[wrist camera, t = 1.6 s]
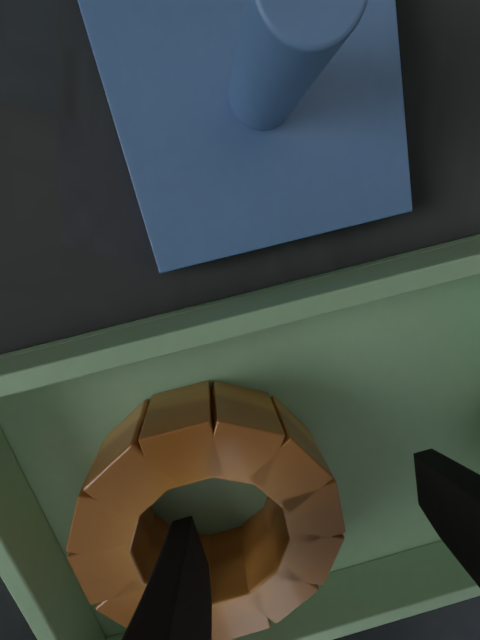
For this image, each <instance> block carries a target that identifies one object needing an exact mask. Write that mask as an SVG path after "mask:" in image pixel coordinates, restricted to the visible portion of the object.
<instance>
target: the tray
mask: <svg viewBox="0 0 480 640" xmlns="http://www.w3.org/2000/svg"><path fill="white" fill-rule="evenodd" d="M204 381H209V384H210V387H211V389H212V386H213V382H214V381H219V382H224V383H228V384H232V385H237V386H241V387H246V388H250V389H254V390H259V391H263V392H267V393H268V394H269V396H270V398H271V397H272V396H275V397H276V398H277V399H278V400H279V401H280V402H281V403H282V404H283V405H284V406H285V407H286V408H287V409H288V410H289V411H290V412H291V413H293V414H294V415H295V416H296V417H297V418H298V419H299V420H300V421H301V422H302V423H303V424H304V425H305V426H306V427H307V428H308V429H309V431H310V433H311V435H312V437H313V438H314V440H315V442H316V444H317V446H318V448H319V450H320V452H321V454H322V456H323V457H324V459H325V461H326V463H327V465H328V467H329V469H330V471H331V473H332V474H333V476H334V478H335V480H336V482H337V486H338V491H339V497H340V502H341V508H342V513H343V519H344V524H345V530H346V532H345V533H343V535H344V538H345V539H344V542H343V544H342V546H341V548H340V550H339V553H338V555H337V557H336V559H335V561H334V564H333V566H332V568H331V570H330V573H329V575H328V577H327V579H326V581H325V584H324V585H318V586H319V590H318V591H317V592H316V593H315V594H313V595H312V596H311V597H310V598H308V599H307V600H306V601H305V602H303V603H302V604H301V605H300V606H298V607H297V608H296V609H295V610H293V611H292V612H291V613H290V614H288V615H287V616H286V617H285V618H283V619H282V620H281V621H280V622H278V623H274V622H273V621H271V620H270V624H271V627H270V628H268V629H265V630H262V631H258V632H255V633H251V634H248V635H245V636H241V637H238V638H234V639H231V640H333V639H336V638H340V637H343V636H347V635H350V634H353V633H357V632H360V631H363V630H367V629H370V628H373V627H377V626H380V625H383V624H387V623H390V622H393V621H397V620H400V619H403V618H407V617H410V616H413V615H417V614H420V613H424V612H427V611H430V610H434V609H437V608H440V607H444V606H447V605H450V604H454V603H457V602H460V601H464V600H467V599H470V598H474V597H477V596H480V588H479V587H478V585H477V584H476V583H475V581H474V580H473V579H472V578H471V576H470V575H469V574H468V573H467V571H466V570H465V569H464V568H463V566H462V565H461V564H460V563H459V561H458V560H457V559H456V558H455V556H454V555H453V554H452V553H451V551H450V550H449V549H448V547H447V546H446V545H445V544H444V542H443V541H442V540H441V538H440V537H439V536H438V534H437V533H436V531H435V530H434V528H433V526H432V525H431V523H430V522H429V520H428V519H427V517H426V515H425V514H424V512H423V511H422V509H421V507H420V506H419V504H418V495H417V485H416V475H415V465H414V455H413V453H417V452H420V451H424V450H427V449H431V448H432V449H434V450H436V451H437V452H439V453H441V454H443V455H445V456H447V457H449V458H450V459H452V460H454V461H456V462H458V463H459V464H461V465H463V466H465V467H467V468H469V469H470V470H472V471H474V472H476V473H478V474H480V234H478V235H474V236H470V237H466V238H462V239H458V240H454V241H450V242H446V243H442V244H438V245H434V246H430V247H426V248H422V249H418V250H414V251H410V252H406V253H402V254H398V255H394V256H390V257H386V258H383V259H379V260H375V261H371V262H367V263H363V264H359V265H355V266H351V267H347V268H343V269H339V270H335V271H331V272H327V273H323V274H319V275H315V276H311V277H307V278H303V279H299V280H295V281H291V282H287V283H283V284H279V285H275V286H271V287H267V288H263V289H259V290H256V291H252V292H248V293H244V294H240V295H236V296H232V297H228V298H224V299H220V300H216V301H212V302H208V303H204V304H200V305H196V306H192V307H188V308H184V309H180V310H176V311H172V312H168V313H164V314H160V315H156V316H152V317H148V318H144V319H140V320H136V321H132V322H129V323H125V324H121V325H117V326H113V327H109V328H105V329H101V330H97V331H93V332H89V333H85V334H81V335H77V336H73V337H69V338H65V339H61V340H57V341H53V342H49V343H45V344H41V345H37V346H33V347H29V348H25V349H21V350H17V351H13V352H9V353H5V354H2V355H0V576H1V578H2V580H3V581H4V583H5V585H6V587H7V588H8V590H9V592H10V593H11V595H12V597H13V599H14V600H15V602H16V604H17V605H18V607H19V609H20V611H21V612H22V614H23V616H24V617H25V619H26V621H27V622H28V624H29V626H30V628H31V629H32V631H33V633H34V634H35V636H36V638H37V640H121V639H122V637H123V635H124V633H125V631H126V629H127V628H126V627H124V626H122V625H120V624H119V623H117V622H115V621H114V620H112V619H110V618H108V617H107V616H105V615H103V614H102V613H100V612H98V611H97V610H96V604H97V603H96V604H93V605H92V604H89V602H88V600H87V598H86V596H85V594H84V592H83V590H82V588H81V586H80V584H79V582H78V580H77V578H76V576H75V574H74V572H73V570H72V568H71V566H70V564H69V562H68V554H69V553H68V552H66V546H67V542H68V537H69V533H70V528H71V524H72V519H73V515H74V510H75V506H76V502H77V497H78V495H79V492H80V490H81V488H82V486H83V484H84V482H85V479H86V477H87V475H88V473H89V471H90V469H91V466H92V464H93V462H94V460H95V458H96V456H97V453H98V451H99V449H100V447H101V445H102V443H103V441H105V439H106V437H107V435H108V434H109V433H110V432H111V431H112V430H113V429H114V428H115V427H116V426H117V425H118V424H120V423H121V422H122V421H123V420H124V419H125V418H126V417H127V416H128V415H129V414H130V413H131V412H132V411H133V410H134V409H135V408H136V407H138V406H139V405H140V404H141V403H142V402H143V401H144V400H146V399H147V400H148V401H150V400H151V396H152V395H154V394H158V393H162V392H166V391H170V390H174V389H177V388H181V387H185V386H189V385H193V384H196V383H200V382H204ZM266 498H267V495H266V494H265V493H263V492H262V491H261V490H260V489H259V488H257V487H256V486H255V485H251V484H246V483H240V482H235V481H229V480H223V479H218V478H210V479H206V480H203V481H199V482H195V483H192V484H188V485H184V486H181V487H177V488H173V489H170V490H168V491H167V492H166V493H165V494H164V495H163V496H162V497H160V498H159V499H158V500H157V501H156V502H155V503H154V504H153V505H151V506H152V509H153V512H154V514H156V515H157V516H158V517H160V518H161V519H162V520H164V521H165V522H167V523H168V524H169V525H170V524H171V523H172V521H174V520H178V519H182V518H185V517H189V516H192V517H193V520H194V523H195V526H196V529H197V532H198V534H204V535H211V534H214V533H218V532H221V531H225V530H229V529H232V528H236V527H239V526H242V525H243V524H244V523H245V522H247V521H248V520H249V519H250V518H251V517H252V516H254V515H255V514H256V513H257V512H258V511H259V510H261V509H262V508H263V506H264V504H265V501H266Z"/></svg>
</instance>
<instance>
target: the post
mask: <svg viewBox="0 0 480 640" xmlns="http://www.w3.org/2000/svg"><path fill="white" fill-rule="evenodd" d="M77 1H78V4H79V7H80V11H81V14H82V17H83V21H84V24H85V27H86V31H87V34H88V37H89V41H90V44H91V47H92V51H93V54H94V57H95V61H96V64H97V67H98V71H99V74H100V77H101V80H102V84H103V87H104V90H105V94H106V97H107V100H108V104H109V107H110V110H111V114H112V117H113V120H114V124H115V127H116V130H117V134H118V137H119V140H120V144H121V147H122V150H123V154H124V157H125V160H126V164H127V167H128V170H129V174H130V177H131V180H132V184H133V187H134V190H135V193H136V197H137V200H138V203H139V207H140V210H141V213H142V217H143V220H144V223H145V227H146V230H147V233H148V237H149V240H150V243H151V247H152V250H153V253H154V257H155V260H156V263H157V267H158V270H159V272H160V273H165V272H169V271H173V270H177V269H181V268H185V267H189V266H193V265H197V264H201V263H205V262H209V261H213V260H217V259H221V258H225V257H229V256H233V255H237V254H242V253H246V252H250V251H254V250H258V249H262V248H266V247H270V246H274V245H278V244H282V243H286V242H290V241H294V240H298V239H302V238H306V237H310V236H314V235H318V234H323V233H327V232H331V231H335V230H339V229H343V228H347V227H351V226H355V225H359V224H363V223H367V222H371V221H375V220H379V219H383V218H387V217H391V216H395V215H399V214H404V213H408V212H411V211H412V210H413V208H412V196H411V184H410V171H409V159H408V147H407V135H406V123H405V111H404V99H403V86H402V74H401V62H400V50H399V38H398V26H397V14H396V1H395V0H77Z"/></svg>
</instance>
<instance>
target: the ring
mask: <svg viewBox="0 0 480 640" xmlns="http://www.w3.org/2000/svg"><path fill="white" fill-rule="evenodd" d="M210 478H218V479H223V480H229V481H235V482H240V483H246V484H251V485H255V486H256V487H257V488H259V489H260V490H261V491H262V492H263V493H265V494H266V495H267V498H266V501H265V504H264V506H263V508H262V509H261V510H259V511H258V512H257V513H256V514H255V515H254V516H252V517H251V518H250V519H249V520H248V521H247V522H245V523H244V524H243V525H242V526H239V527H236V528H232V529H229V530H225V531H221V532H218V533H214V534H211V535H204V534H198V535H199V538H200V540H201V543H202V546H203V549H204V552H205V555H206V558H207V561H208V564H209V573H210V585H211V598H212V640H231V639H234V638H238V637H241V636H245V635H248V634H251V633H255V632H258V631H262V630H265V629H268V628H270V627H271V624H270V620H271V621H273V622H274V623H278V622H280V621H281V620H282V619H283V618H285V617H286V616H287V615H288V614H290V613H291V612H292V611H293V610H295V609H296V608H297V607H298V606H300V605H301V604H302V603H303V602H305V601H306V600H307V599H308V598H310V597H311V596H312V595H313V594H315V593H316V592H317V591H318V590H319V586H318V585H324V584H325V581H326V579H327V577H328V575H329V573H330V570H331V568H332V566H333V564H334V561H335V559H336V557H337V555H338V553H339V550H340V548H341V546H342V544H343V542H344V539H345V538H344V535H343V533H345V532H346V530H345V524H344V519H343V513H342V508H341V502H340V497H339V491H338V486H337V482H336V480H335V478H334V476H333V474H332V473H331V471H330V469H329V467H328V465H327V463H326V461H325V459H324V457H323V456H322V454H321V452H320V450H319V448H318V446H317V444H316V442H315V440H314V438H313V437H312V435H311V433H310V431H309V429H308V428H307V427H306V426H305V425H304V424H303V423H302V422H301V421H300V420H299V419H298V418H297V417H296V416H295V415H294V414H293V413H291V412H290V411H289V410H288V409H287V408H286V407H285V406H284V405H283V404H282V403H281V402H280V401H279V400H278V399H277V398H276V397H275V396H272V397H271V398H270V396H269V394H268V393H267V392H263V391H259V390H254V389H250V388H246V387H241V386H237V385H232V384H228V383H224V382H219V381H214V382H213V386H212V389H211V387H210V384H209V381H204V382H200V383H196V384H193V385H189V386H185V387H181V388H177V389H174V390H170V391H166V392H162V393H158V394H154V395H152V396H151V400H150V401H148V400H147V399H146V400H144V401H143V402H142V403H141V404H140V405H139V406H138V407H136V408H135V409H134V410H133V411H132V412H131V413H130V414H129V415H128V416H127V417H126V418H125V419H124V420H123V421H122V422H121V423H120V424H118V425H117V426H116V427H115V428H114V429H113V430H112V431H111V432H110V433H109V434H108V435H107V437H106V439H105V441H103V443H102V445H101V447H100V449H99V451H98V453H97V456H96V458H95V460H94V462H93V464H92V466H91V469H90V471H89V473H88V475H87V477H86V479H85V482H84V484H83V486H82V488H81V490H80V492H79V495H78V497H77V502H76V506H75V510H74V515H73V519H72V524H71V528H70V533H69V537H68V542H67V546H66V552H68V553H69V554H68V562H69V564H70V566H71V568H72V570H73V572H74V574H75V576H76V578H77V580H78V582H79V584H80V586H81V588H82V590H83V592H84V594H85V596H86V598H87V600H88V602H89V604H92V605H93V604H96V603H97V604H96V610H97V611H98V612H100V613H102V614H103V615H105V616H107V617H108V618H110V619H112V620H114V621H115V622H117V623H119V624H120V625H122V626H124V627H126V628H127V627H128V625H129V623H130V621H131V618H132V616H133V614H134V612H135V610H136V608H137V606H138V604H139V601H140V599H141V597H142V595H143V592H144V590H145V588H146V585H147V583H148V581H149V578H150V576H151V574H152V571H153V569H154V566H155V564H156V561H157V559H158V556H159V554H160V551H161V548H162V546H163V543H164V540H165V538H166V535H167V532H168V529H169V527H170V525H169V524H168V523H167V522H165V521H164V520H162V519H161V518H160V517H158V516H157V515H156V514H154V512H153V509H152V506H151V505H153V504H154V503H155V502H156V501H157V500H158V499H159V498H160V497H162V496H163V495H164V494H165V493H166V492H167V491H168V490H170V489H173V488H177V487H181V486H184V485H188V484H192V483H195V482H199V481H203V480H206V479H210Z"/></svg>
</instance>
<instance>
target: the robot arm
mask: <svg viewBox="0 0 480 640" xmlns="http://www.w3.org/2000/svg"><path fill="white" fill-rule="evenodd" d="M413 455H414V465H415V475H416V485H417V495H418V504H419V506H420V507H421V509H422V511H423V512H424V514H425V515H426V517H427V519H428V520H429V522H430V523H431V525H432V526H433V528H434V530H435V531H436V533H437V534H438V536H439V537H440V538H441V540H442V541H443V542H444V544H445V545H446V546H447V547H448V549H449V550H450V551H451V553H452V554H453V555H454V556H455V558H456V559H457V560H458V561H459V563H460V564H461V565H462V566H463V568H464V569H465V570H466V571H467V573H468V574H469V575H470V576H471V578H472V579H473V580H474V581H475V583H476V584H477V585H478V587H479V588H480V474H478V473H476V472H474V471H472V470H470V469H469V468H467V467H465V466H463V465H461V464H459V463H458V462H456V461H454V460H452V459H450V458H449V457H447V456H445V455H443V454H441V453H439V452H437V451H436V450H434V449H432V448H431V449H427V450H424V451H420V452H417V453H413ZM121 640H212V598H211V585H210V573H209V564H208V561H207V558H206V555H205V552H204V549H203V546H202V543H201V540H200V538H199V535H198V532H197V529H196V526H195V523H194V520H193V517H192V516H189V517H185V518H182V519H178V520H174V521H172V523H171V524H170V527H169V529H168V532H167V535H166V538H165V540H164V543H163V546H162V548H161V551H160V554H159V556H158V559H157V561H156V564H155V566H154V569H153V571H152V574H151V576H150V578H149V581H148V583H147V585H146V588H145V590H144V592H143V595H142V597H141V599H140V601H139V604H138V606H137V608H136V610H135V612H134V614H133V616H132V618H131V621H130V623H129V625H128V627H127V629H126V631H125V633H124V635H123V637H122V639H121Z"/></svg>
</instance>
